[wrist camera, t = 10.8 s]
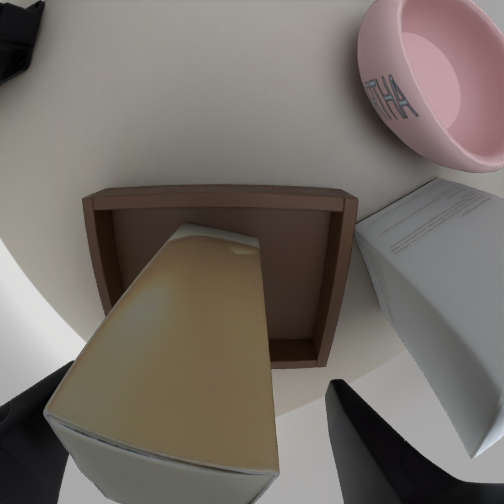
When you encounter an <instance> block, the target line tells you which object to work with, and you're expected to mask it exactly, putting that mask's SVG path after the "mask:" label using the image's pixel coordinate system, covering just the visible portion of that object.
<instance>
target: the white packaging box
mask: <svg viewBox="0 0 504 504" xmlns="http://www.w3.org/2000/svg"><path fill="white" fill-rule="evenodd" d="M354 236H355V238H356V241H357V243H358V246H359V248H360V251H361V253H362V256H363V258H364V261H365V264H366V266H367V269H368V271H369V274H370V277H371V280H372V283H373V285H374V288H375V291H376V294H377V297H378V300H379V303H380V306H381V309H382V312H383V314H384V316H385V317H386V318H387V320H388V321H389V322H390V324H391V325H392V327H393V328H394V330H395V331H396V333H397V334H398V336H399V337H400V339H401V340H402V342H403V343H404V345H405V346H406V348H407V349H408V350H409V352H410V354H411V355H412V356H413V358H414V360H415V361H416V363H417V364H418V366H419V368H420V369H421V371H422V372H423V374H424V376H425V377H426V379H427V381H428V382H429V384H430V386H431V387H432V389H433V391H434V392H435V394H436V395H437V397H438V399H439V401H440V403H441V404H442V406H443V408H444V410H445V411H446V413H447V415H448V416H449V418H450V420H451V422H452V424H453V425H454V427H455V429H456V431H457V433H458V435H459V437H460V439H461V441H462V443H463V444H464V447H465V448H466V450H467V453H468V454H469V456H470V458H471V459H474V458H475V457H477V456H478V455H480V454H481V453H482V452H483V451H485V450H486V449H487V448H489V447H490V446H491V445H492V444H494V443H495V442H496V441H497V440H499V439H500V438H501V437H502V436H503V435H504V199H503V198H500V197H498V196H495V195H492V194H489V193H487V192H484V191H481V190H477V189H475V188H472V187H469V186H466V185H463V184H459V183H456V182H452V181H449V180H445V179H442V178H437V179H435V180H433V181H432V182H430V183H428V184H426V185H424V186H423V187H421V188H419V189H418V190H416V191H414V192H412V193H411V194H409V195H407V196H405V197H404V198H402V199H400V200H398V201H397V202H395V203H393V204H391V205H390V206H388V207H386V208H384V209H383V210H381V211H379V212H377V213H376V214H374V215H372V216H370V217H368V218H367V219H365V220H363V221H361V222H359V223H358V224H356V225H355V230H354Z"/></svg>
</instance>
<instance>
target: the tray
mask: <svg viewBox="0 0 504 504" xmlns="http://www.w3.org/2000/svg"><path fill="white" fill-rule="evenodd" d="M82 202H83V211H84V219H85V226H86V232H87V238H88V244H89V250H90V255H91V260H92V265H93V269H94V274H95V278H96V283H97V287H98V291H99V295H100V299H101V302H102V306H103V310H104V313H105V317H106V316H107V315H108V314H109V312H110V311H111V310H112V308H113V307H114V306H115V304H116V303H117V302H118V300H119V299H120V298H121V297H122V295H123V294H124V293H125V292H126V290H127V289H128V288H129V286H130V285H131V284H132V283H133V281H134V280H135V279H136V278H137V276H138V275H139V274H140V273H141V271H142V270H143V269H144V268H145V267H146V265H147V264H148V263H149V262H150V261H151V260H152V258H153V257H154V256H155V255H156V254H157V252H158V251H159V250H160V249H161V248H162V247H163V245H164V244H165V243H166V242H167V241H168V239H169V238H170V237H171V236H172V235H173V234H174V233H175V232H176V230H177V229H178V228H179V227H180V226H181V225H182V224H183V223H190V224H196V225H201V226H206V227H211V228H216V229H220V230H225V231H229V232H234V233H238V234H242V235H246V236H250V237H255V238H258V240H259V246H260V258H261V270H262V280H263V290H264V303H265V312H266V322H267V333H268V343H269V355H270V366H271V369H295V368H315V366H316V367H326V365H327V361H328V357H329V354H330V350H331V346H332V342H333V338H334V334H335V330H336V326H337V321H338V317H339V313H340V308H341V304H342V299H343V294H344V289H345V284H346V279H347V273H348V268H349V262H350V256H351V250H352V244H353V237H354V230H355V223H356V215H357V207H358V198H356V197H354V196H352V195H350V194H348V193H347V192H345V191H343V190H341V189H329V188H315V187H297V186H275V185H231V184H207V185H163V186H141V187H125V188H111V189H104V190H101V191H99V192H96V193H94V194H91V195H89V196H86V197H84V198H82Z"/></svg>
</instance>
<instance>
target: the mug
mask: <svg viewBox="0 0 504 504" xmlns="http://www.w3.org/2000/svg"><path fill="white" fill-rule="evenodd" d="M357 58H358V66H359V71H360V78H361V80H362V83H363V86H364V89H365V92H366V94H367V96H368V98H369V100H370V102H371V104H372V106H373V107H374V109H375V111H376V112H377V113H378V115H379V116H380V117H381V119H382V120H383V122H384V123H385V124H386V125H387V126H388V127H389V128H390V129H391V130H392V131H393V132H394V133H395V134H396V135H397V136H398V137H399V138H400V139H401V140H402V141H403V142H404V143H405V144H406V145H407V146H409V147H410V148H411V149H413V150H414V151H415V152H417V153H418V154H419V155H421V156H423V157H425V158H427V159H429V160H431V161H433V162H435V163H437V164H439V165H441V166H444V167H448V168H451V169H456V170H460V171H465V172H471V173H484V172H494V171H496V170H498V169H500V168H502V167H504V36H503V34H502V33H501V31H500V30H499V29H498V27H497V26H496V25H495V23H494V22H493V21H492V20H491V19H490V17H489V16H488V15H487V14H486V13H485V12H484V11H483V10H482V9H481V8H480V7H479V6H478V5H476V4H475V3H474V2H473V1H471V0H375V1H374V2H373V3H372V5H371V6H370V8H369V9H368V11H367V12H366V13H365V15H364V18H363V20H362V23H361V26H360V30H359V33H358V48H357Z"/></svg>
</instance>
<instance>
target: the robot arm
mask: <svg viewBox="0 0 504 504" xmlns="http://www.w3.org/2000/svg"><path fill="white" fill-rule="evenodd" d="M43 7H44V2H43V1H41V0H40V1H38V2H36V3H35V4H33V5H31V6H30V7H28V8H27V9H24V8H22V7H19V6H16V5H13V4H11V3H5V4H4V3H1V2H0V85H1V84H3V83H5V82H6V81H8V80H10V79H11V78H13V77H15V76H17V75H18V74H20V73H22V72H24V71H25V70H26V69H27V68H28V66H29V63H30V58H31V53H32V48H33V43H34V39H35V35H36V31H37V27H38V23H39V20H40V16H41V13H42V10H43ZM73 363H74V361H71V362H69V363H68V364H66V365H65V366H63V367H61V368H60V369H58V370H57V371H55V372H53V373H52V374H50V375H49V376H47V377H46V378H44V379H43V380H41V381H39V382H38V383H36V384H35V385H33V386H32V387H30V388H29V389H27V390H25V391H24V392H22V393H21V394H19V395H18V396H16V397H15V398H13V399H11V400H10V401H8V402H7V403H5V404H4V405H2V406H0V504H57V502H58V497H59V492H60V488H61V483H62V479H63V475H64V471H65V467H66V463H67V460H68V456H69V452H68V451H67V450H66V448H65V447H64V445H63V444H62V442H61V441H60V439H59V438H58V437H57V435H56V434H55V432H54V430H53V429H52V427H51V426H50V424H49V423H48V421H47V420H46V418H45V417H44V415H43V411H44V409H45V407H46V405H47V403H48V401H49V400H50V398H51V397H52V395H53V393H54V392H55V390H56V389H57V387H58V385H59V384H60V382H61V381H62V379H63V378H64V376H65V375H66V373H67V372H68V370H69V369H70V367H71V366H72V364H73ZM325 401H326V411H327V420H328V430H329V437H330V442H331V446H332V450H333V455H334V459H335V464H336V468H337V472H338V477H339V482H340V486H341V491H342V495H343V500H344V504H504V483H500V484H499V483H497V484H496V483H473V482H465V481H461V480H459V479H456V478H455V477H453V476H451V475H450V474H448V473H447V472H445V471H444V470H442V469H441V468H439V467H438V466H437V465H435V464H434V463H432V462H431V461H430V460H428V459H427V458H425V457H424V456H423V455H422V454H420V453H419V452H418V451H417V450H416V449H415V448H413V447H412V446H411V445H410V444H409V443H408V442H407V441H404V438H403V437H402V436H400V434H398V433H397V432H396V431H395V430H394V429H393V428H392V427H391V426H390V425H389V424H388V423H387V422H386V421H385V420H384V419H383V418H382V417H381V416H380V415H379V414H378V413H377V412H376V411H374V410H373V409H372V408H371V407H370V406H369V405H368V404H367V403H366V402H365V401H364V400H363V399H362V398H361V397H360V396H359V395H358V394H357V393H356V392H355V391H354V390H353V389H352V388H351V387H350V386H349V385H348V384H347V383H346V382H345V381H344V380H342V379H335V380H331V381H330V383H329V386H328V389H327V392H326V395H325Z"/></svg>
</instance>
